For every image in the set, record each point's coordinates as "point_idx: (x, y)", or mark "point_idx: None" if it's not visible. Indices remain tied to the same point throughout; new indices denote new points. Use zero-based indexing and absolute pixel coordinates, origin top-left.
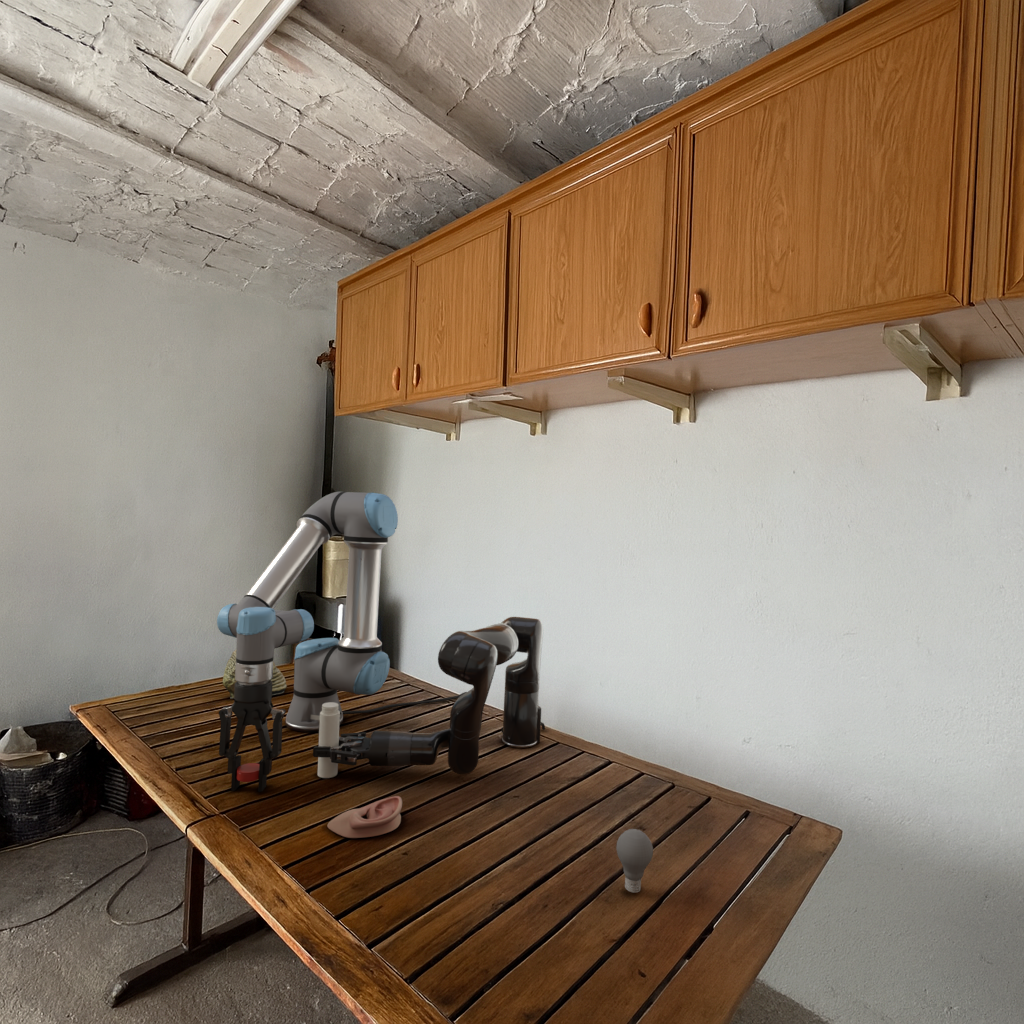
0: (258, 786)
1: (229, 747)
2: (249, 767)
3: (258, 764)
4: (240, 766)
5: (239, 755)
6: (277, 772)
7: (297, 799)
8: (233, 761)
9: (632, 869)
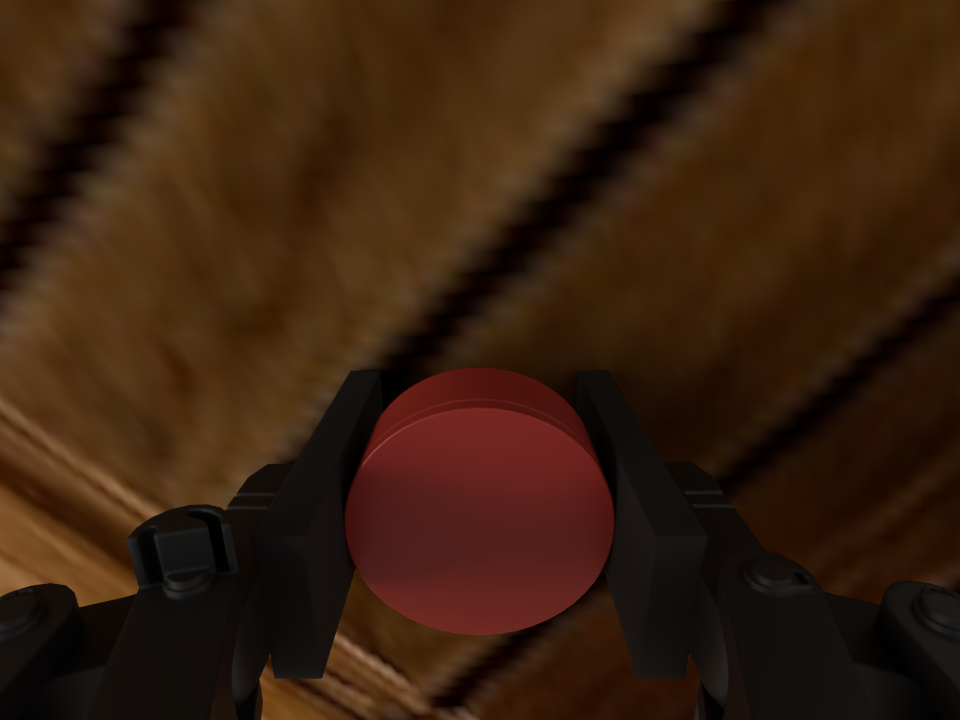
0: None
1: (43, 643)
2: (474, 526)
3: (549, 446)
4: (361, 510)
5: (283, 545)
6: (631, 47)
7: (887, 541)
8: (295, 667)
9: None
